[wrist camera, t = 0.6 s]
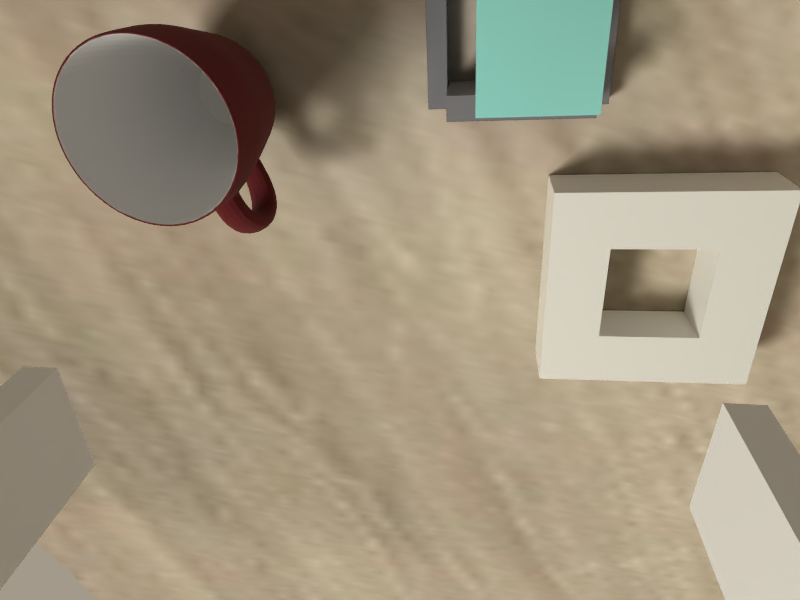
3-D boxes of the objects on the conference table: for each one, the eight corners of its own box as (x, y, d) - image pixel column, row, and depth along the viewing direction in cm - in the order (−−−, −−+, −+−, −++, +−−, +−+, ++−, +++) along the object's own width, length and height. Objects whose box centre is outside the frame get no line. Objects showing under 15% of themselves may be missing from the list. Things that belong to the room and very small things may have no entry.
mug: (356, 154, 34) (315, 219, 25) (251, 219, 37) (181, 298, 28) (241, -23, 30) (145, -17, 21) (133, 65, 33) (10, 101, 24)
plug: (477, -26, 29) (476, -19, 18) (565, -31, 28) (616, -28, 18) (476, 66, 31) (475, 118, 20) (558, 63, 30) (600, 114, 20)
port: (548, 175, 33) (554, 193, 30) (776, 171, 32) (803, 190, 29) (535, 350, 39) (539, 378, 36) (727, 355, 37) (745, 384, 35)
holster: (425, -68, 28) (417, -73, 25) (625, -82, 27) (647, -88, 23) (429, 105, 32) (424, 122, 28) (604, 100, 31) (620, 117, 27)
